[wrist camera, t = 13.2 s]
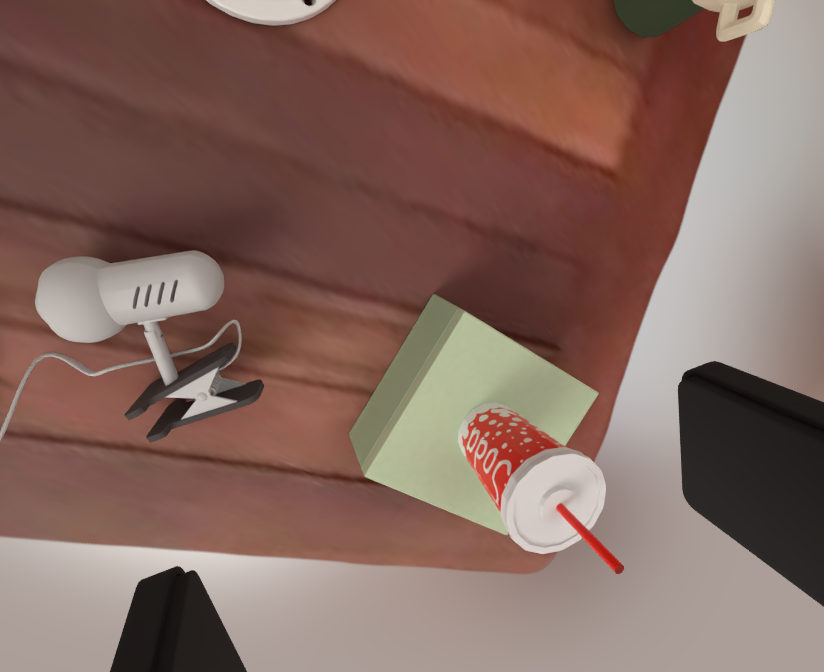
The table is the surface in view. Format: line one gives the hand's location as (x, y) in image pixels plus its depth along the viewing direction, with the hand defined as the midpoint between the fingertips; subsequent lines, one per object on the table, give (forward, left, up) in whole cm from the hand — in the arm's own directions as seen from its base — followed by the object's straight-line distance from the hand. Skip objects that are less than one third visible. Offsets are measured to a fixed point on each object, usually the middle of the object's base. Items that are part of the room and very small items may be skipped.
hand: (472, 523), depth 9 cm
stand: (+3, +15, -29) cm, 32 cm away
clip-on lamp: (+10, -10, -29) cm, 32 cm away
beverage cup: (+3, +15, -22) cm, 27 cm away
